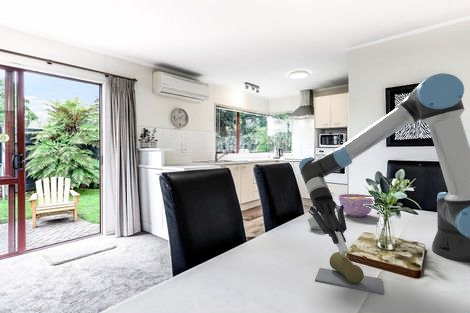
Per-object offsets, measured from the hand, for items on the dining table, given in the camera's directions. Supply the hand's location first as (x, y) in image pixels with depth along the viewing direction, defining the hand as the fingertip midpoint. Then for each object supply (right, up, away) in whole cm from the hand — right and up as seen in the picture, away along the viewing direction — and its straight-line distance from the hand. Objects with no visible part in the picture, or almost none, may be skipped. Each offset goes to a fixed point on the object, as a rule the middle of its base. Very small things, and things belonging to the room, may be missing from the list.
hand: (344, 253), depth 81 cm
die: (+7, -7, +51) cm, 52 cm away
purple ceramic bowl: (+40, -6, +77) cm, 87 cm away
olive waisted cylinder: (0, -4, +4) cm, 6 cm away
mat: (0, -7, -3) cm, 8 cm away
